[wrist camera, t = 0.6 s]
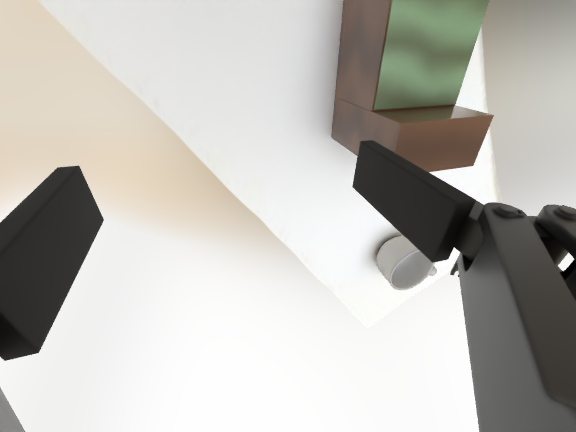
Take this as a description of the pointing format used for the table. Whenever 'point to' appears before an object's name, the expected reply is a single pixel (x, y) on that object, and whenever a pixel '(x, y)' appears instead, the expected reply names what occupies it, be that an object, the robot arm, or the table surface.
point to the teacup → (403, 263)
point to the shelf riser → (409, 80)
